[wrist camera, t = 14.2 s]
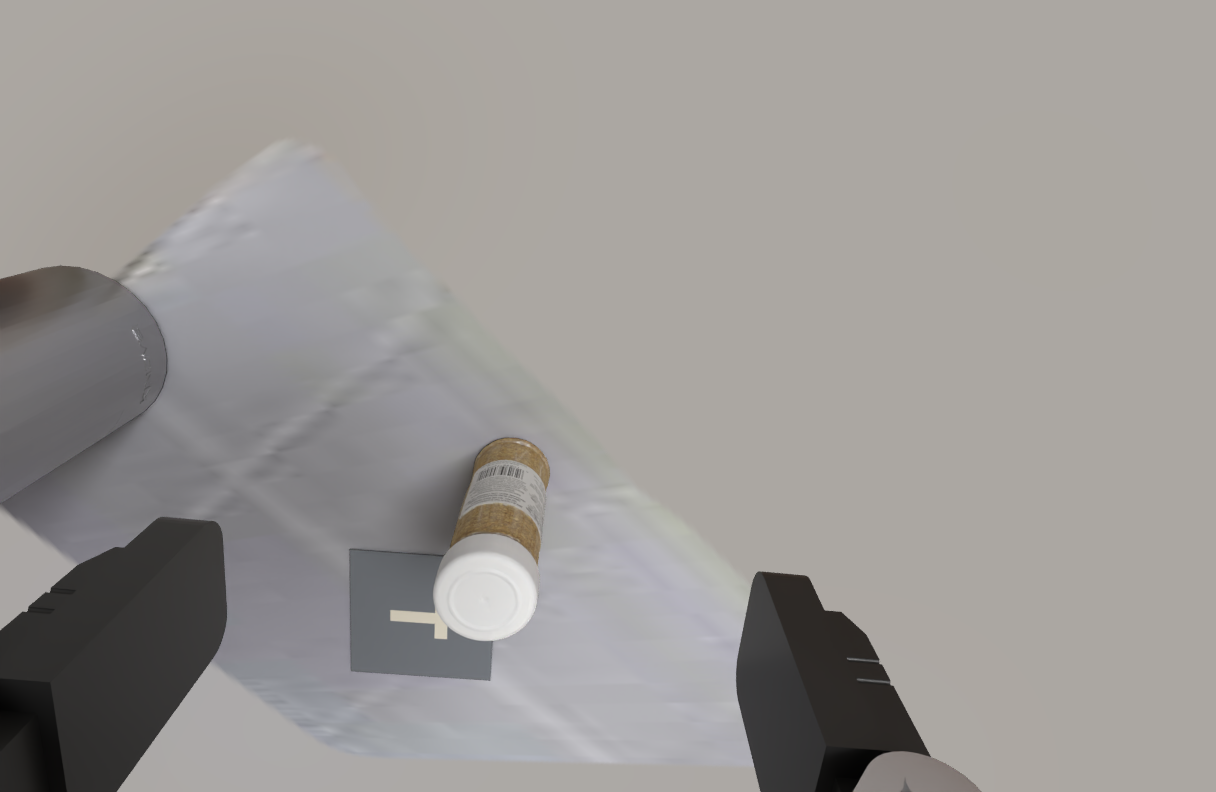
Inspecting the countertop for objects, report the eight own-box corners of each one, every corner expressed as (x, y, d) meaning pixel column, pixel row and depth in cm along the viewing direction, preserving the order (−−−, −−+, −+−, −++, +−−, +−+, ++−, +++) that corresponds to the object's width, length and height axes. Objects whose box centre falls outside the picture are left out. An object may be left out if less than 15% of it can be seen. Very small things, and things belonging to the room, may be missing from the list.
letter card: (351, 670, 51) (351, 671, 50) (350, 549, 48) (349, 550, 47) (490, 679, 51) (489, 680, 51) (497, 560, 48) (497, 561, 48)
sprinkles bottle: (467, 495, 47) (422, 634, 34) (482, 426, 45) (440, 544, 32) (542, 511, 47) (524, 654, 34) (559, 444, 46) (547, 567, 33)
